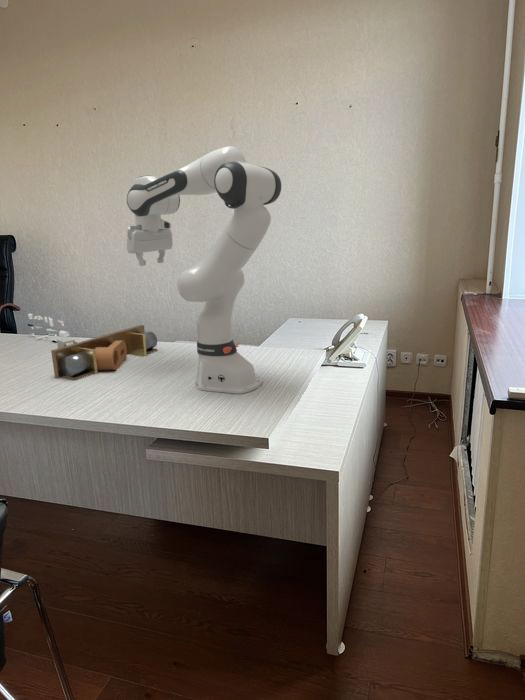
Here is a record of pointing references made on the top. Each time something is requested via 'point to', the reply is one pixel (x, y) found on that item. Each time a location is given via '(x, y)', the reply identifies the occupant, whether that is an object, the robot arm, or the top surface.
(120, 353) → the tan piece
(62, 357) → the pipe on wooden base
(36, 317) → the plumbing parts
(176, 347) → the top surface
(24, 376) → the top surface
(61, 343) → the electrical component
